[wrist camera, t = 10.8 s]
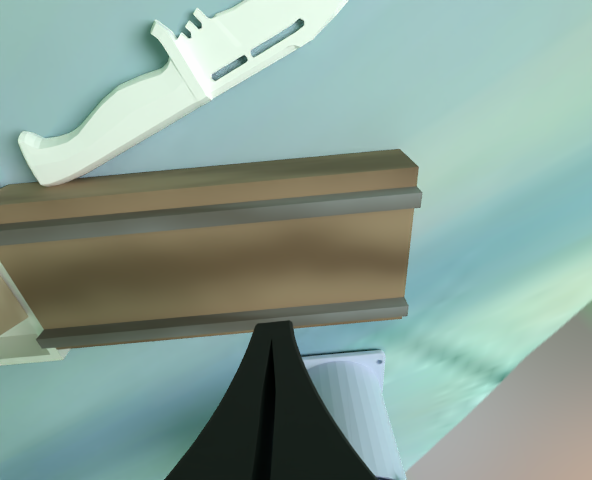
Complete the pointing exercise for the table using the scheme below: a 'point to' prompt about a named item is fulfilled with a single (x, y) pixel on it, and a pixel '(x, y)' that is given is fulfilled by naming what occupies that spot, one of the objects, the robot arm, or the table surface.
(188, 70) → the knife
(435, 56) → the table surface
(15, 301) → the beige cube
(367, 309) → the slot block
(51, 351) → the tray
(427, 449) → the table surface
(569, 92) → the table surface
